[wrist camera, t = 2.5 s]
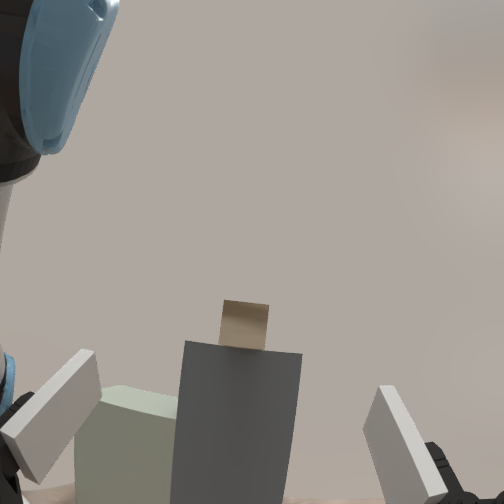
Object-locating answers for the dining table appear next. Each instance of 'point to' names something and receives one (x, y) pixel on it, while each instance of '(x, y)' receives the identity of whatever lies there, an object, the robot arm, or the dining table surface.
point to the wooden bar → (243, 325)
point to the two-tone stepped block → (194, 433)
